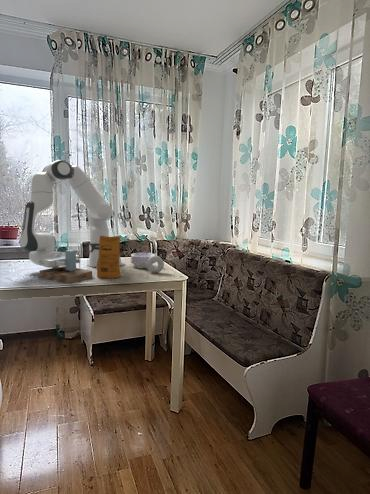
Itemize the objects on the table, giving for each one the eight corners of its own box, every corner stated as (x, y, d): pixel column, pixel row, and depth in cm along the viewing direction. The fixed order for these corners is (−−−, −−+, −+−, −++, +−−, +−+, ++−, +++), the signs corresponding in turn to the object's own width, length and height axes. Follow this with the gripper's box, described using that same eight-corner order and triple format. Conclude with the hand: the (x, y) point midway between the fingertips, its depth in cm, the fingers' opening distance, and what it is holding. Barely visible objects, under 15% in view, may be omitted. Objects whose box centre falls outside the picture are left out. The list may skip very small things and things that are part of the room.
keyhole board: (39, 277, 173) (39, 270, 173) (64, 272, 187) (64, 265, 186) (68, 283, 163) (68, 276, 162) (92, 277, 177) (92, 270, 176)
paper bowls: (133, 270, 199) (134, 256, 198) (128, 265, 213) (128, 252, 212) (158, 268, 205) (158, 256, 204) (151, 264, 219) (151, 252, 218)
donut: (163, 272, 195) (164, 255, 194) (163, 273, 192) (164, 256, 191) (146, 272, 194) (146, 255, 193) (146, 273, 191) (146, 256, 190)
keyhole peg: (64, 278, 172) (63, 250, 170) (71, 276, 176) (71, 249, 174) (70, 279, 170) (70, 251, 168) (77, 278, 174) (77, 250, 172)
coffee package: (98, 274, 184) (98, 234, 181) (121, 274, 185) (121, 235, 182) (95, 278, 175) (95, 236, 172) (119, 278, 176) (119, 237, 173)
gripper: (36, 256, 169) (55, 259, 162) (68, 251, 187) (86, 254, 180) (36, 268, 170) (55, 272, 163) (68, 262, 187) (86, 265, 181)
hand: (72, 262), depth 172 cm, fingers open, 8 cm apart
